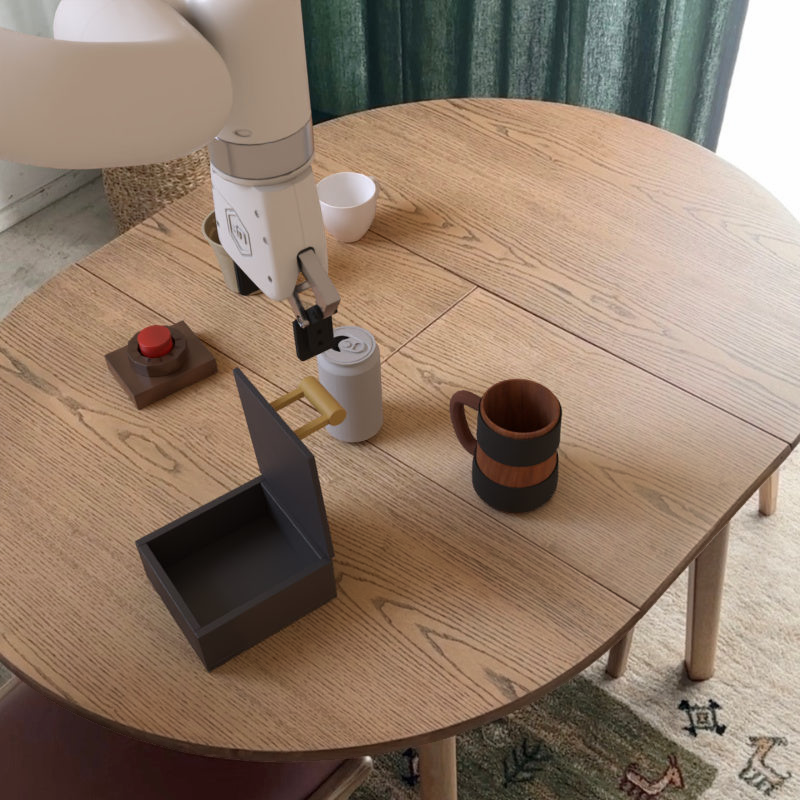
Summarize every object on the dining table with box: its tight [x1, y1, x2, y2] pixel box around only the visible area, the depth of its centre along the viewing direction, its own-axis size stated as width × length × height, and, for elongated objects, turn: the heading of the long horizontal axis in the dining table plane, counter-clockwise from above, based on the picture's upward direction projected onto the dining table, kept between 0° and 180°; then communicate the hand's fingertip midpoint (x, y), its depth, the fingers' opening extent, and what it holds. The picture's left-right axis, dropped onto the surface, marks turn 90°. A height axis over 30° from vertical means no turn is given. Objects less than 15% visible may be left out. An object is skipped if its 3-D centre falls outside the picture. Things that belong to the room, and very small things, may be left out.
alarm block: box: [103, 319, 219, 411], centre depth 119 cm, size 10×8×4 cm
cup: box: [316, 171, 381, 243], centre depth 136 cm, size 8×10×7 cm
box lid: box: [232, 366, 347, 560], centre depth 94 cm, size 14×13×6 cm
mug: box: [448, 378, 563, 515], centre depth 104 cm, size 9×12×12 cm
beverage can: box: [316, 325, 384, 443], centre depth 110 cm, size 6×6×12 cm
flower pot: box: [201, 208, 263, 296], centre depth 128 cm, size 9×9×9 cm
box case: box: [134, 474, 338, 673], centre depth 98 cm, size 14×13×6 cm
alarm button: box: [138, 324, 173, 358], centre depth 118 cm, size 4×4×2 cm
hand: (285, 319), depth 87 cm, fingers open, 9 cm apart
